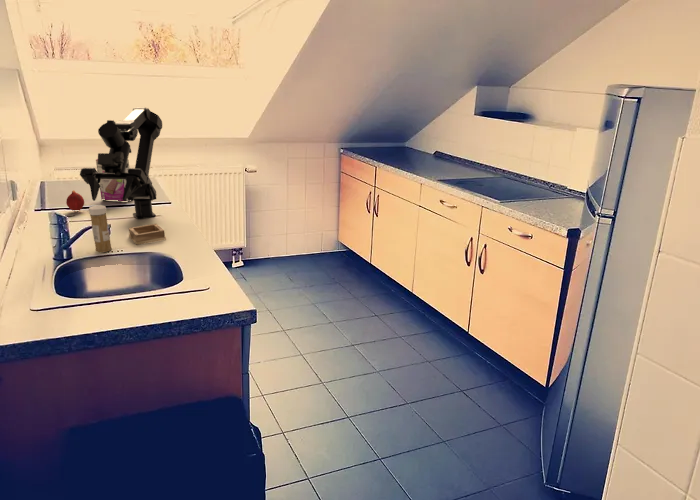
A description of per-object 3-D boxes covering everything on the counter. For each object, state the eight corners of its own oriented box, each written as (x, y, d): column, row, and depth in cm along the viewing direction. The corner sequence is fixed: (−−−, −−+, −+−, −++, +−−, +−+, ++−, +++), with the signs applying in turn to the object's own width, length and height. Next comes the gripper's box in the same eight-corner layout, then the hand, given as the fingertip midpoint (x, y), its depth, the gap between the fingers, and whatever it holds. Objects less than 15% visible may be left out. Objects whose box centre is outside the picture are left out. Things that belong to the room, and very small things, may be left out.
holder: (129, 236, 181) (127, 227, 180) (157, 232, 186) (156, 223, 185) (136, 244, 174) (135, 235, 173) (166, 239, 179) (165, 230, 178)
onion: (89, 211, 207) (85, 190, 205) (74, 215, 203) (70, 193, 200) (79, 208, 210) (76, 187, 208) (64, 212, 206) (61, 191, 203)
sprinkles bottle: (113, 251, 169) (107, 207, 164) (97, 254, 167) (90, 209, 162) (110, 246, 173) (103, 203, 168) (93, 249, 170) (87, 206, 166)
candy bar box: (100, 201, 220) (94, 159, 214) (108, 198, 225) (103, 156, 219) (126, 203, 218) (121, 161, 212) (134, 200, 222) (128, 158, 217)
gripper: (77, 141, 172) (65, 186, 165) (139, 142, 172) (130, 186, 165) (92, 162, 182) (82, 204, 175) (150, 162, 182) (142, 205, 175)
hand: (108, 200), depth 173 cm, fingers open, 9 cm apart
